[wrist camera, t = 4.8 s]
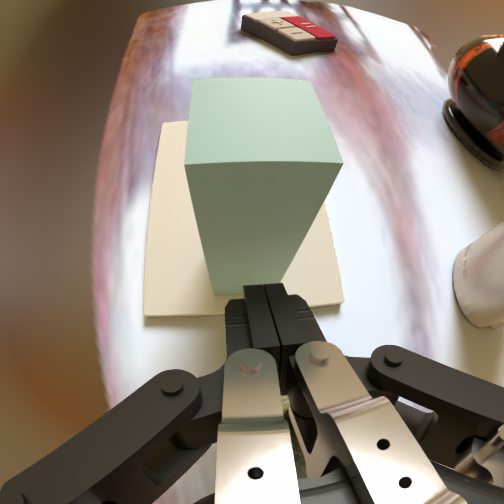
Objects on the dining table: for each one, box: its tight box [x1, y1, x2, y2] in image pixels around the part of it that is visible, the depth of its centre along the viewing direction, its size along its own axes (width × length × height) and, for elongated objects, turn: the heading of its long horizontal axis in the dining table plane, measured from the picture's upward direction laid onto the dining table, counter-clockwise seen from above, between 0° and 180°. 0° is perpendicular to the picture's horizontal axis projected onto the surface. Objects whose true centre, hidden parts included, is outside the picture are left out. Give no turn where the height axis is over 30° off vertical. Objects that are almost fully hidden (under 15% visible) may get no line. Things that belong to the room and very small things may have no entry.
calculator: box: [241, 11, 338, 56], centre depth 38 cm, size 11×4×15 cm
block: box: [184, 77, 343, 296], centre depth 14 cm, size 4×4×14 cm
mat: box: [144, 121, 344, 317], centre depth 24 cm, size 20×15×1 cm
